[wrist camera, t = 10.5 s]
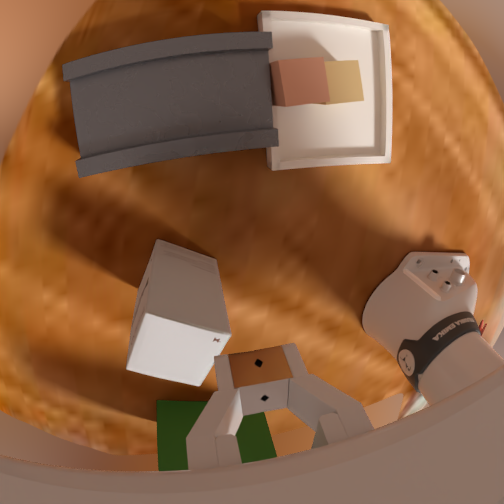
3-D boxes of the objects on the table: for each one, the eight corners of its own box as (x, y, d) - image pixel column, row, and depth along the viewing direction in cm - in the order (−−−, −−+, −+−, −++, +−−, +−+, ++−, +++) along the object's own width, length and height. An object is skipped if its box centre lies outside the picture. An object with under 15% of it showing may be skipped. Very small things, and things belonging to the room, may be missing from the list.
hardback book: (157, 422, 48) (166, 544, 27) (156, 400, 45) (164, 537, 24) (252, 421, 53) (283, 534, 32) (260, 399, 50) (298, 524, 29)
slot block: (257, 42, 25) (271, 31, 20) (263, 138, 30) (278, 146, 25) (82, 69, 23) (62, 64, 18) (95, 164, 27) (78, 178, 23)
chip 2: (304, 60, 25) (323, 56, 21) (310, 100, 27) (330, 101, 23) (264, 64, 24) (278, 60, 21) (271, 105, 26) (286, 106, 23)
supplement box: (156, 236, 32) (145, 309, 21) (218, 258, 35) (235, 335, 24) (136, 289, 35) (123, 370, 24) (193, 307, 38) (201, 389, 27)
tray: (378, 27, 25) (388, 25, 24) (381, 158, 33) (390, 162, 31) (257, 15, 23) (261, 10, 22) (267, 166, 31) (272, 170, 30)
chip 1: (302, 65, 26) (338, 62, 26) (309, 103, 28) (344, 98, 28) (318, 61, 23) (358, 60, 23) (325, 104, 25) (364, 100, 25)
